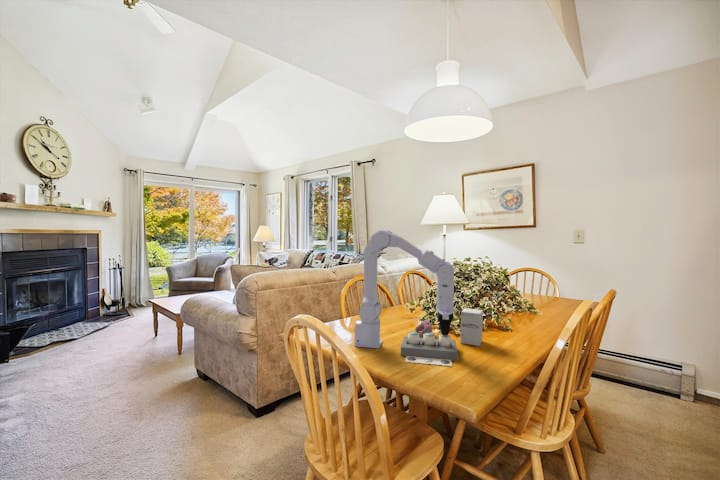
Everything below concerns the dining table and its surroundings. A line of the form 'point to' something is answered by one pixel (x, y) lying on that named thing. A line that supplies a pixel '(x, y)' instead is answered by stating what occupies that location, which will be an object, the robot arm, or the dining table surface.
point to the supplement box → (471, 326)
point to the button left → (413, 338)
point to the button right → (444, 341)
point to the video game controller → (424, 328)
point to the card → (428, 361)
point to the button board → (429, 350)
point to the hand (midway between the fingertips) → (444, 334)
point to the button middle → (428, 339)
